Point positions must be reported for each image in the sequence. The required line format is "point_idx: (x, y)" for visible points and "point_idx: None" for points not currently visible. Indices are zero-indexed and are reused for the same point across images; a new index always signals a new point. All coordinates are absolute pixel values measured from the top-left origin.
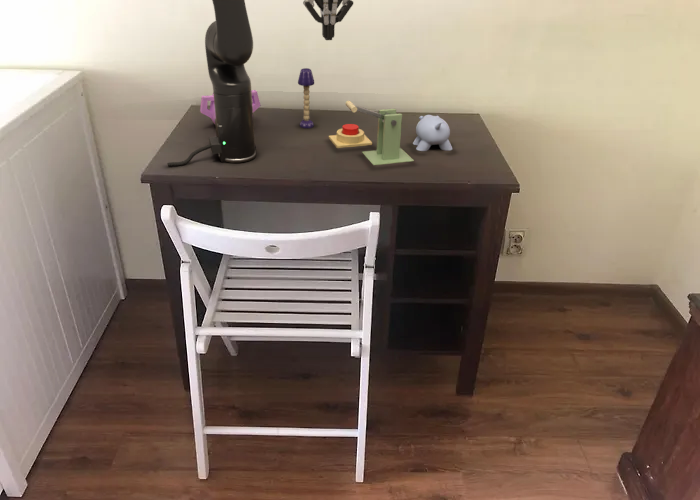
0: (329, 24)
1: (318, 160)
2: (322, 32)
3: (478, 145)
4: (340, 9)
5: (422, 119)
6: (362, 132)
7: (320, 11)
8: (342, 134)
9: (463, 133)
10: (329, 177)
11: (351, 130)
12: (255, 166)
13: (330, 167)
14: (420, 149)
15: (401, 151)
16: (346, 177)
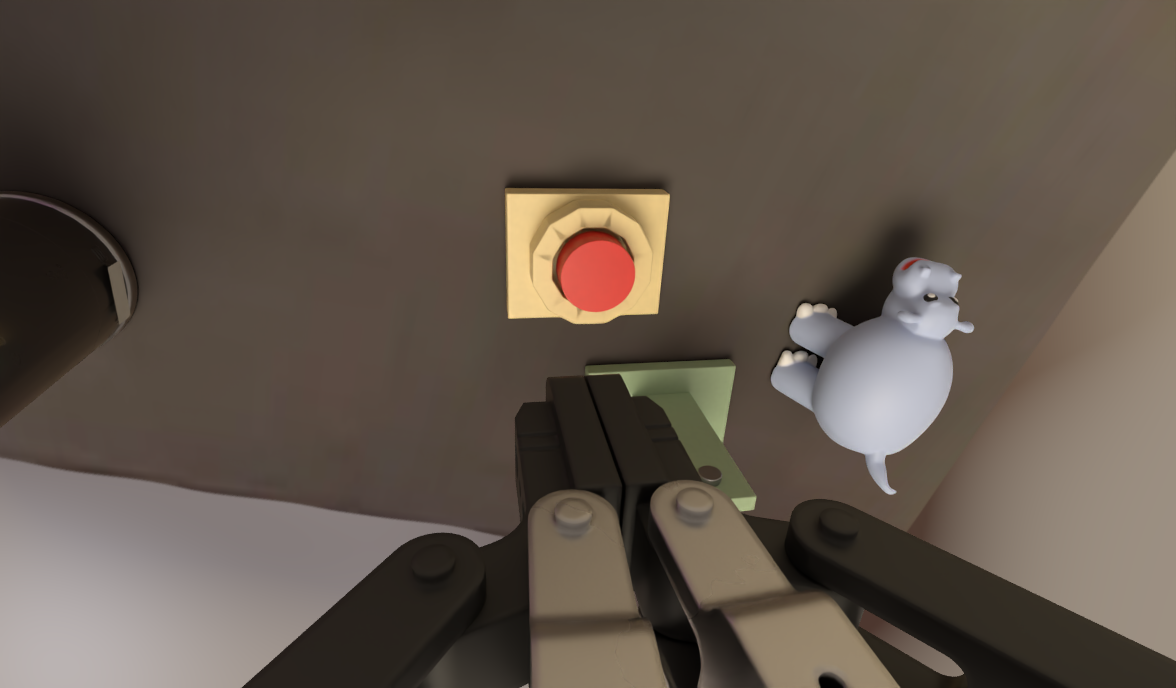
0: (631, 558)
1: (414, 373)
2: (518, 445)
3: (992, 354)
4: (994, 677)
5: (878, 383)
6: (641, 285)
7: (532, 651)
8: (548, 289)
9: (1040, 238)
10: (423, 500)
11: (588, 309)
12: (146, 384)
13: (444, 435)
14: (787, 395)
15: (720, 396)
16: (477, 506)
